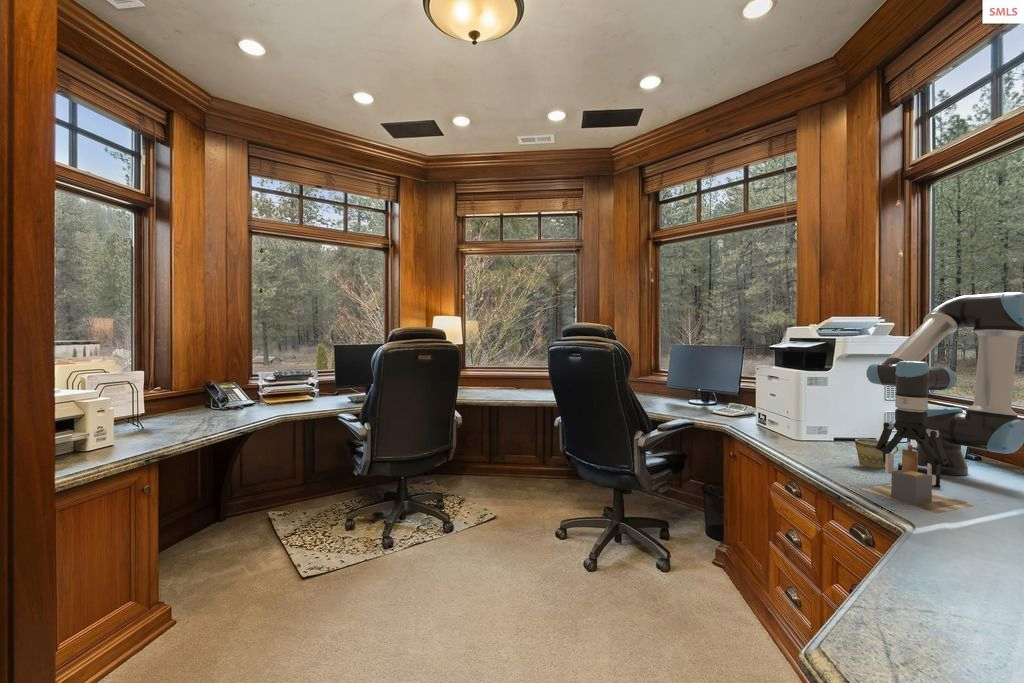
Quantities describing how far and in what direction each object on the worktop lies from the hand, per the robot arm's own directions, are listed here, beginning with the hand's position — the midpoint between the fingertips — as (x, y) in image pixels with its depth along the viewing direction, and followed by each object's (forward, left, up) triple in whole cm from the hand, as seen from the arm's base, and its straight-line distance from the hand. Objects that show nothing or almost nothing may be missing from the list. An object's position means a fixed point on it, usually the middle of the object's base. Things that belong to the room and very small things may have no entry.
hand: (909, 478), depth 134 cm
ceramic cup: (-16, -19, -4) cm, 25 cm away
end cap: (-10, -3, -4) cm, 11 cm away
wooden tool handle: (0, 0, -3) cm, 3 cm away
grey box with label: (+12, +7, -3) cm, 14 cm away
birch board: (+7, +6, -4) cm, 10 cm away
